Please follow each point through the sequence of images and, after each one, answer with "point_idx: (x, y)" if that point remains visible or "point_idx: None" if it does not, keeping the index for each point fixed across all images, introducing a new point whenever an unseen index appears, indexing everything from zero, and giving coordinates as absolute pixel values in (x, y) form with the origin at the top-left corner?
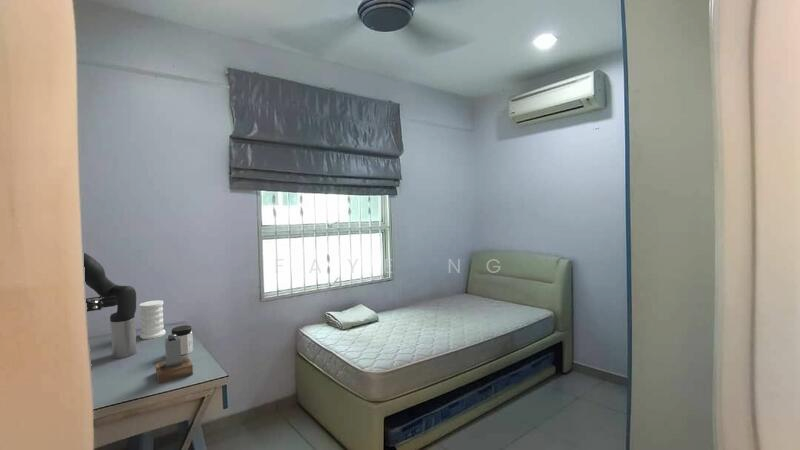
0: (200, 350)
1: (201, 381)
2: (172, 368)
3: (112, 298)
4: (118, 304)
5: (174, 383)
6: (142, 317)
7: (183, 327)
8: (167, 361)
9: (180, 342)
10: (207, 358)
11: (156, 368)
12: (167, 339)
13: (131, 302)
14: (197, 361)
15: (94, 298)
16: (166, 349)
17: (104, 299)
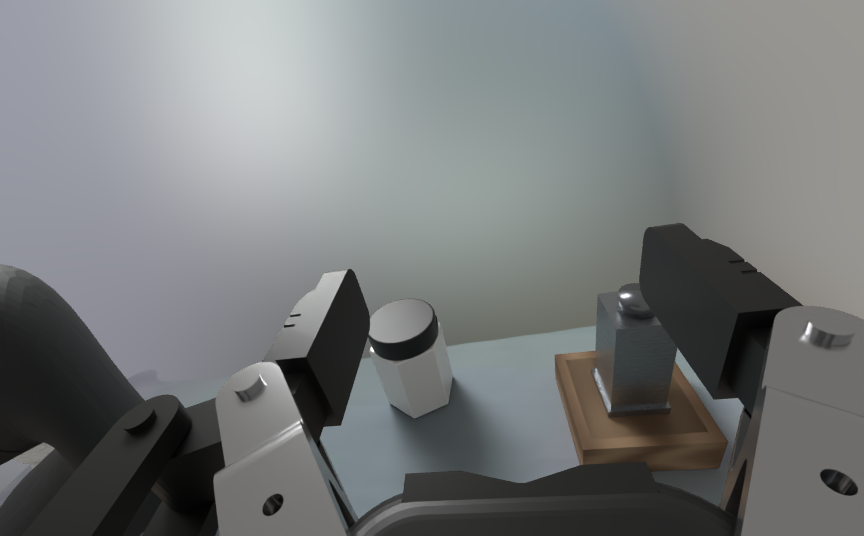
0: (446, 348)
1: None
2: (678, 395)
3: (351, 304)
4: (70, 432)
5: (734, 418)
6: (43, 450)
7: (397, 314)
8: (667, 390)
9: (441, 358)
10: (532, 335)
11: (631, 451)
12: (638, 320)
13: (111, 367)
14: (542, 356)
15: (324, 491)
16: (676, 351)
17: (320, 378)
